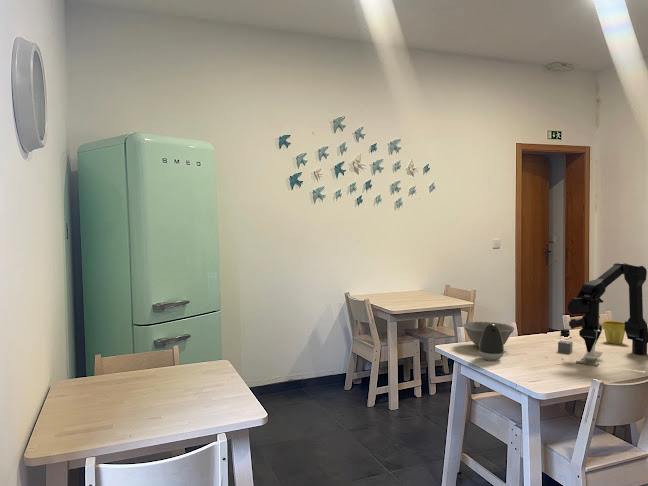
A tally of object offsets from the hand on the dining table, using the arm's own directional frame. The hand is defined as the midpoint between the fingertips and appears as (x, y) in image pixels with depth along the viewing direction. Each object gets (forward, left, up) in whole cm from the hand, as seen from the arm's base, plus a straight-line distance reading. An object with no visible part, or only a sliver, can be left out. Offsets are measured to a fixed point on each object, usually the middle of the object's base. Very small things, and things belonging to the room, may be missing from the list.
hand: (590, 349), depth 213 cm
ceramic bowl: (+5, -42, -4) cm, 43 cm away
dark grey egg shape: (+25, -34, -4) cm, 42 cm away
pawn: (0, 0, -4) cm, 4 cm away
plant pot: (-43, +4, -4) cm, 43 cm away
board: (-3, 0, -4) cm, 5 cm away
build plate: (-41, -18, -5) cm, 45 cm away
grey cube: (-6, -11, -4) cm, 13 cm away
